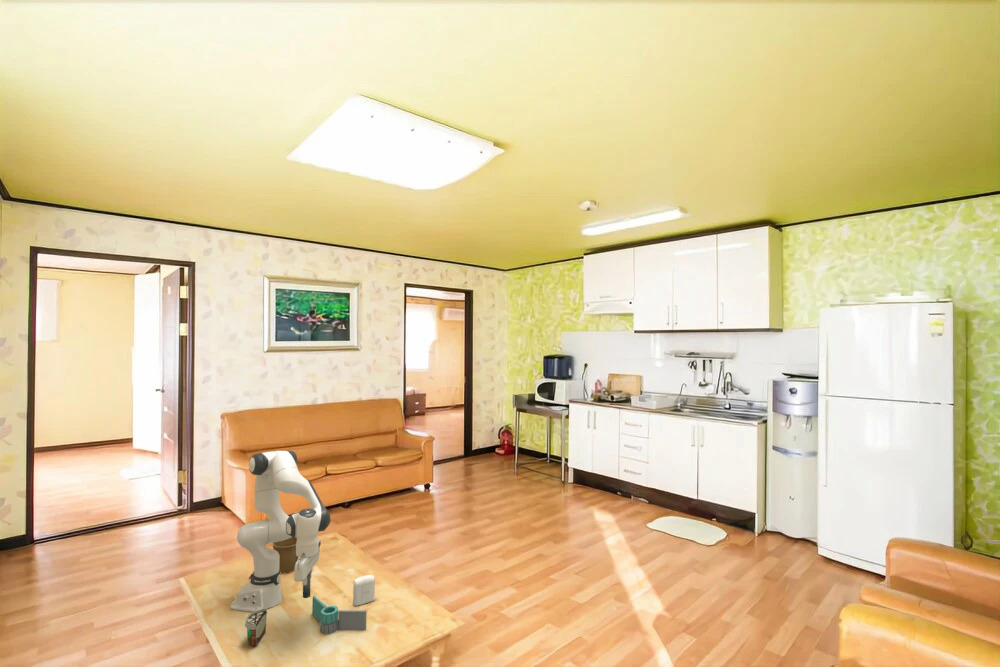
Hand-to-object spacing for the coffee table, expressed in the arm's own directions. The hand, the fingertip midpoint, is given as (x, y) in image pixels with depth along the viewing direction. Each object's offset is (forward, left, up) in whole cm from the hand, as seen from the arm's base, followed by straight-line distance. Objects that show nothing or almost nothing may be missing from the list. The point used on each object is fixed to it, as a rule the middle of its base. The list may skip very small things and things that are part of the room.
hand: (306, 581), depth 204 cm
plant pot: (-34, +60, -24) cm, 72 cm away
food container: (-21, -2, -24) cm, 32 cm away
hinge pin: (0, 0, -6) cm, 6 cm away
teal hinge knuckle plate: (+4, +10, -23) cm, 25 cm away
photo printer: (+17, +28, -24) cm, 40 cm away
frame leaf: (+14, +6, -23) cm, 28 cm away
